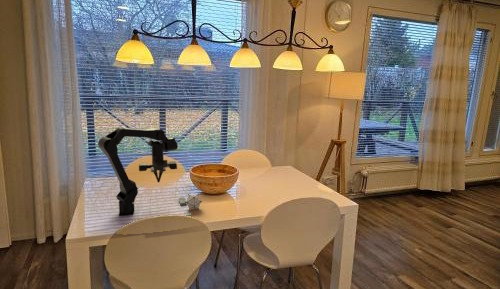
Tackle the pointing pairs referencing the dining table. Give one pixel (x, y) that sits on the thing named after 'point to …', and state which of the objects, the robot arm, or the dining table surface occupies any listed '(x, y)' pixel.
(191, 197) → the grey spiked polyhedron
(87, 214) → the dining table surface
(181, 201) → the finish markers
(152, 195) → the dining table surface
